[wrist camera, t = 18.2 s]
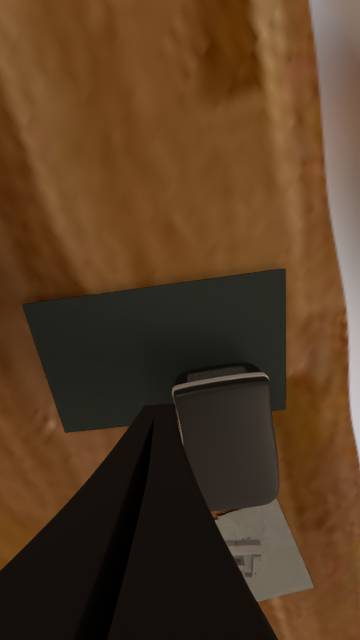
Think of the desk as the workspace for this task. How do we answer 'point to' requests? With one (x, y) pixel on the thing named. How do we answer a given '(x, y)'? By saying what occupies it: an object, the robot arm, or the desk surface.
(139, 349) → the mat
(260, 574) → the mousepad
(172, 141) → the desk surface
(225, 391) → the battery charger
